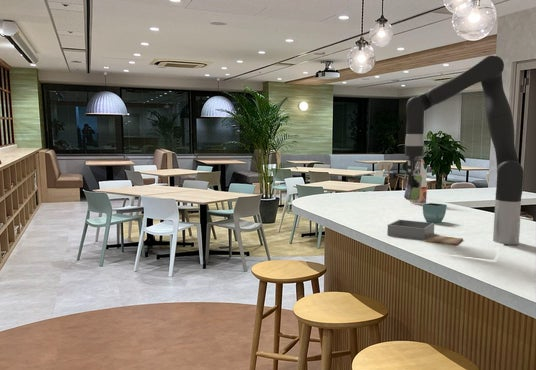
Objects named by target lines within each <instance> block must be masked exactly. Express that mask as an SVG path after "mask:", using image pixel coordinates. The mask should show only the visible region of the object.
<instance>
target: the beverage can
mask: <svg viewBox="0 0 536 370" xmlns="http://www.w3.org/2000/svg"><path fill="white" fill-rule="evenodd" d="M421 183H422V176H421V174H418V173H414V184H413V185H408V176H407V178H406V184H405V191H404V196H403V197H404V198H405V200H407V201H409V202H410V201H417V200H418V199H419V194H420V188H421Z"/></svg>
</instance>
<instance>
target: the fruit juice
mask: <svg viewBox="0 0 536 370" xmlns="http://www.w3.org/2000/svg"><path fill="white" fill-rule="evenodd" d="M420 160H421V169H420V173H419V174H421V176H422V183H421V188H420V194H419V199H418V200H417V201H409V204H410V205H415V206H422V204H427V193H428V191H427V190H428V181H427V177H428V172H427V171H426V169H425V166H424V162H425V160H424V159H420Z"/></svg>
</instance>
